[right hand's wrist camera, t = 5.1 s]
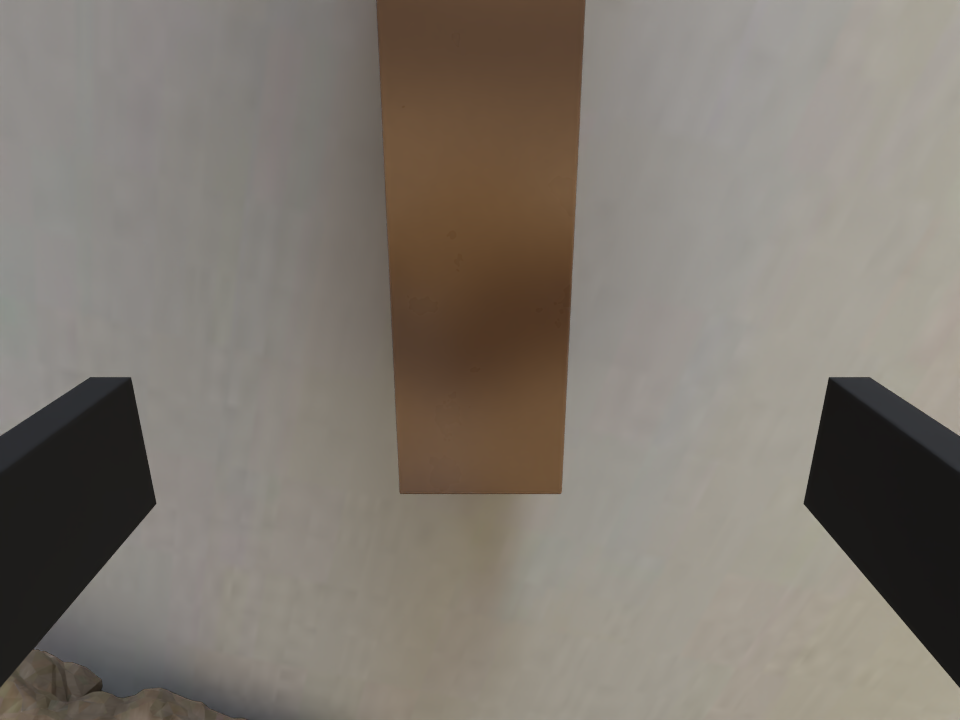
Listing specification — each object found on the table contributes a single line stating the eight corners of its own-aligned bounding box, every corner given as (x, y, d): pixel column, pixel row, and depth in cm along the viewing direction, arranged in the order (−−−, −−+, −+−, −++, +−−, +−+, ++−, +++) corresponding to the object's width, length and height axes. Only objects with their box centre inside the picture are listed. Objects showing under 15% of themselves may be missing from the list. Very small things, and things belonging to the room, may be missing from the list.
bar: (536, 383, 26) (561, 495, 18) (424, 383, 26) (399, 494, 18) (559, -333, 19) (619, -682, 11) (401, -333, 19) (343, -681, 11)
